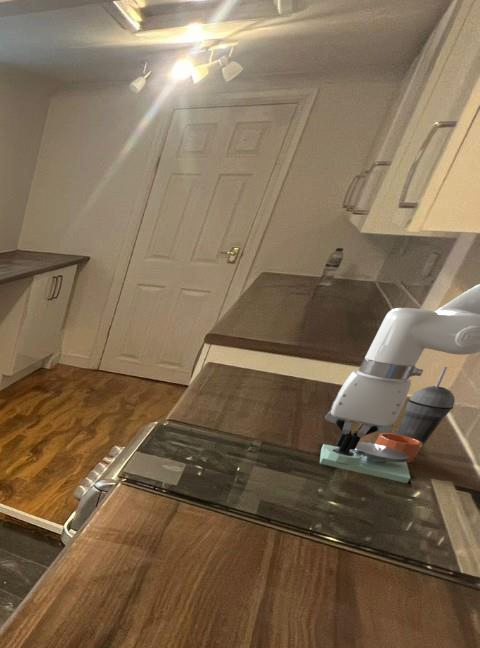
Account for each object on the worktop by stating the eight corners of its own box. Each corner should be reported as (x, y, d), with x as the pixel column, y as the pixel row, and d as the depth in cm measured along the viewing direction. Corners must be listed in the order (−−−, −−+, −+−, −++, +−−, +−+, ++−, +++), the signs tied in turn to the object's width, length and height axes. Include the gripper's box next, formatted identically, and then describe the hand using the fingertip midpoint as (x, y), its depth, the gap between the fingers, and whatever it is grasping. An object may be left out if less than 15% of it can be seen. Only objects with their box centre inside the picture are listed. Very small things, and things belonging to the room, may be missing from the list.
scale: (403, 467, 129) (410, 454, 128) (407, 484, 121) (414, 471, 120) (320, 449, 138) (326, 437, 136) (319, 464, 129) (325, 452, 128)
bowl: (410, 458, 134) (421, 438, 132) (412, 467, 129) (424, 447, 127) (368, 450, 138) (378, 430, 136) (369, 458, 133) (380, 438, 131)
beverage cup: (397, 453, 137) (443, 370, 128) (376, 442, 143) (418, 362, 134) (434, 457, 135) (483, 373, 126) (411, 445, 142) (456, 365, 133)
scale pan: (398, 465, 130) (407, 450, 128) (401, 478, 123) (410, 462, 122) (341, 453, 136) (349, 438, 134) (341, 465, 129) (349, 449, 128)
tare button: (349, 458, 129) (353, 451, 128) (349, 462, 127) (353, 454, 126) (331, 454, 131) (335, 447, 130) (331, 458, 129) (335, 450, 128)
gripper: (434, 374, 118) (389, 456, 126) (337, 359, 127) (300, 437, 135) (438, 381, 113) (391, 466, 121) (337, 365, 122) (298, 445, 130)
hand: (343, 450), depth 128 cm, fingers closed
